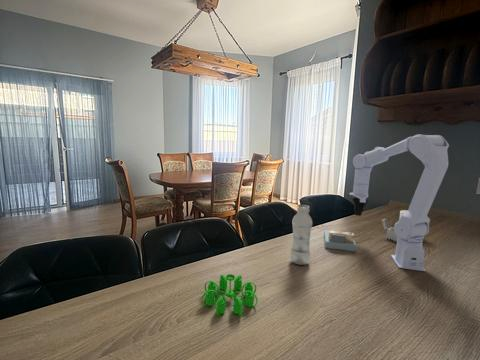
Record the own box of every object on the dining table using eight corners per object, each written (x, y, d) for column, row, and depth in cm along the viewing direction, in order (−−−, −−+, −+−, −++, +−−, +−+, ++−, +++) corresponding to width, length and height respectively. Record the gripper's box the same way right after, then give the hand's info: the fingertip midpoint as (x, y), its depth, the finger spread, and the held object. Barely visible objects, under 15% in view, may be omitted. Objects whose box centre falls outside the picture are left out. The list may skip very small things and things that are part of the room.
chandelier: (246, 328, 59) (247, 300, 58) (189, 310, 64) (189, 284, 63) (265, 292, 73) (266, 269, 71) (217, 280, 78) (217, 258, 77)
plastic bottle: (310, 268, 86) (315, 209, 82) (289, 266, 87) (293, 208, 84) (309, 259, 92) (313, 204, 88) (289, 257, 93) (293, 203, 90)
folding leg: (352, 240, 103) (353, 232, 103) (353, 242, 101) (354, 234, 100) (328, 237, 105) (329, 229, 105) (329, 239, 103) (329, 232, 102)
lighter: (397, 240, 111) (400, 222, 109) (395, 241, 110) (398, 223, 109) (381, 235, 117) (383, 218, 116) (379, 235, 116) (381, 218, 115)
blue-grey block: (355, 251, 99) (356, 237, 99) (325, 247, 102) (326, 234, 101) (350, 238, 112) (352, 226, 111) (323, 235, 115) (324, 223, 114)
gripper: (348, 180, 116) (345, 209, 118) (353, 185, 102) (350, 219, 105) (365, 181, 114) (362, 211, 117) (373, 187, 100) (369, 221, 103)
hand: (357, 215), depth 110 cm, fingers closed
